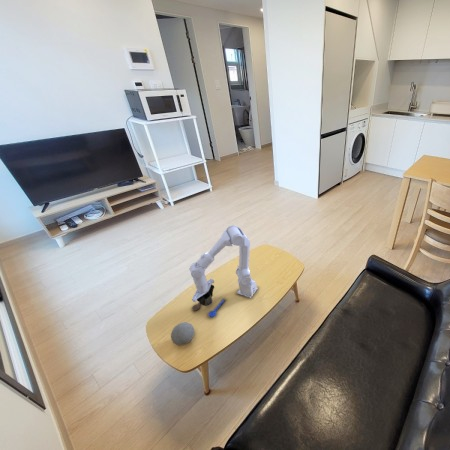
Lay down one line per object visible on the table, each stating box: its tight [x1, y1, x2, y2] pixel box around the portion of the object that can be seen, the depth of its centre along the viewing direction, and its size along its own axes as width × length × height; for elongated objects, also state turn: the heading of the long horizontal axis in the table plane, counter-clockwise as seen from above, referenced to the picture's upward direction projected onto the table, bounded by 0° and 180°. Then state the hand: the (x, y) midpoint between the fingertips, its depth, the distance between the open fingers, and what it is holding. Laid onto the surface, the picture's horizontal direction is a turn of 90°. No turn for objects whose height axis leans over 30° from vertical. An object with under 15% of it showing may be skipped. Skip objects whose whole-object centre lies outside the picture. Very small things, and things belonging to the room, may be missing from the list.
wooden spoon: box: [192, 302, 202, 312], centre depth 133 cm, size 12×4×1 cm, turn 158°
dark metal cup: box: [202, 292, 213, 307], centre depth 128 cm, size 6×6×6 cm
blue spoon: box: [208, 298, 226, 318], centre depth 130 cm, size 12×4×1 cm, turn 158°
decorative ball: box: [170, 321, 195, 346], centre depth 113 cm, size 10×10×10 cm
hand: (207, 300), depth 129 cm, fingers closed on dark metal cup, 5 cm apart
